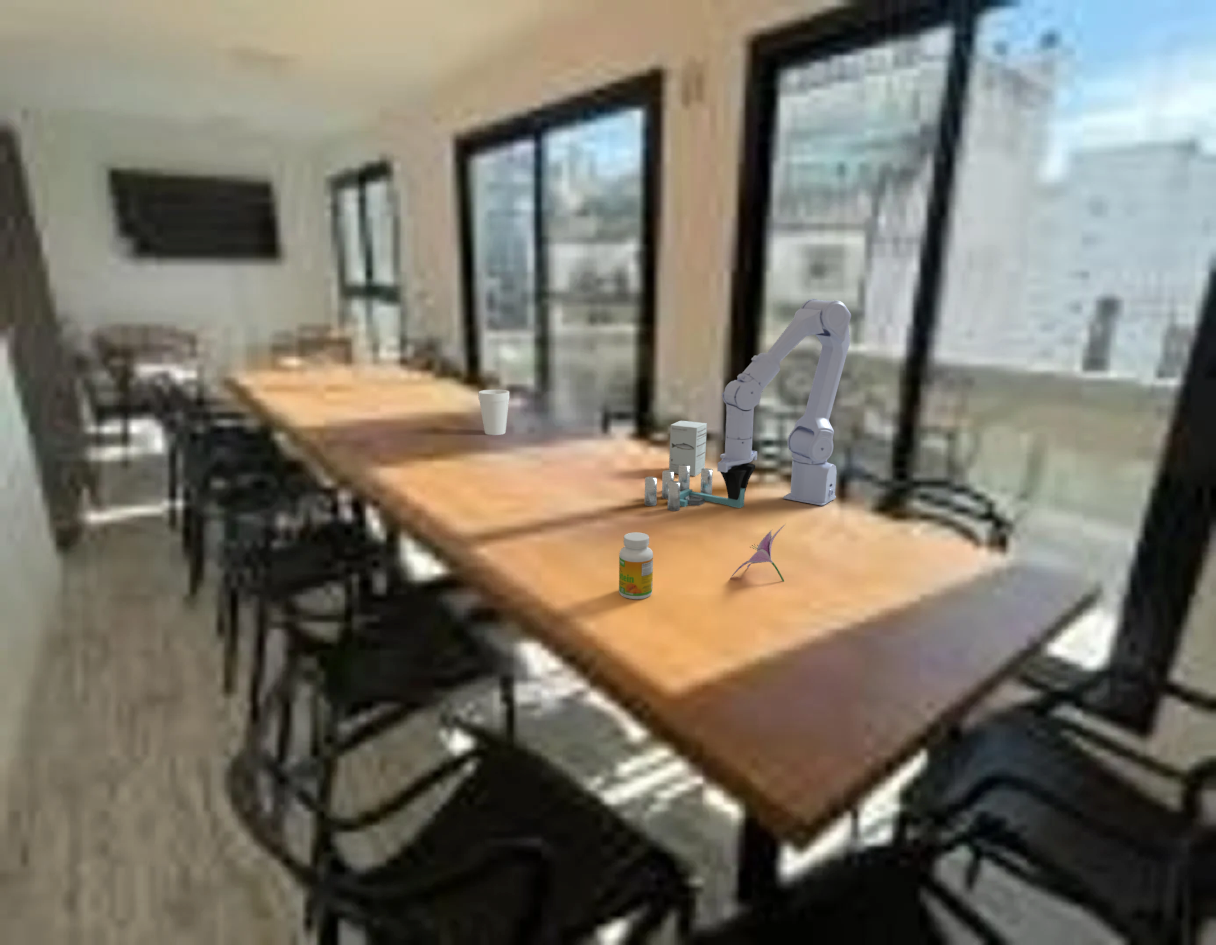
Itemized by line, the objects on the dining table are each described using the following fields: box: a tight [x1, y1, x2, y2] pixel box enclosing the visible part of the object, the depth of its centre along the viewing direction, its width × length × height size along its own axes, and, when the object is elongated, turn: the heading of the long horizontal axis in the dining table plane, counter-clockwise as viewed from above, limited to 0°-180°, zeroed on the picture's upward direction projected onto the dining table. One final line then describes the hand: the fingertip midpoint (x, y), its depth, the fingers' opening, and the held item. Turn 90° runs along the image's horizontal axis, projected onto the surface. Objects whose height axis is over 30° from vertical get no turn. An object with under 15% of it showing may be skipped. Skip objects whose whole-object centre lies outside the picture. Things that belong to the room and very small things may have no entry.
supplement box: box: [668, 420, 708, 477], centre depth 203 cm, size 7×7×13 cm
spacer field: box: [644, 464, 714, 512], centre depth 180 cm, size 9×17×6 cm, turn 143°
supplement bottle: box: [618, 532, 654, 600], centre depth 128 cm, size 5×5×10 cm
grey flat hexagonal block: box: [684, 495, 706, 507], centre depth 178 cm, size 4×5×1 cm
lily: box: [730, 524, 786, 582], centre depth 135 cm, size 12×12×10 cm
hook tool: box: [680, 488, 746, 509], centre depth 176 cm, size 14×9×4 cm, turn 53°
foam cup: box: [478, 388, 511, 436], centre depth 249 cm, size 10×9×13 cm
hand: (736, 497), depth 175 cm, fingers closed on hook tool, 2 cm apart
